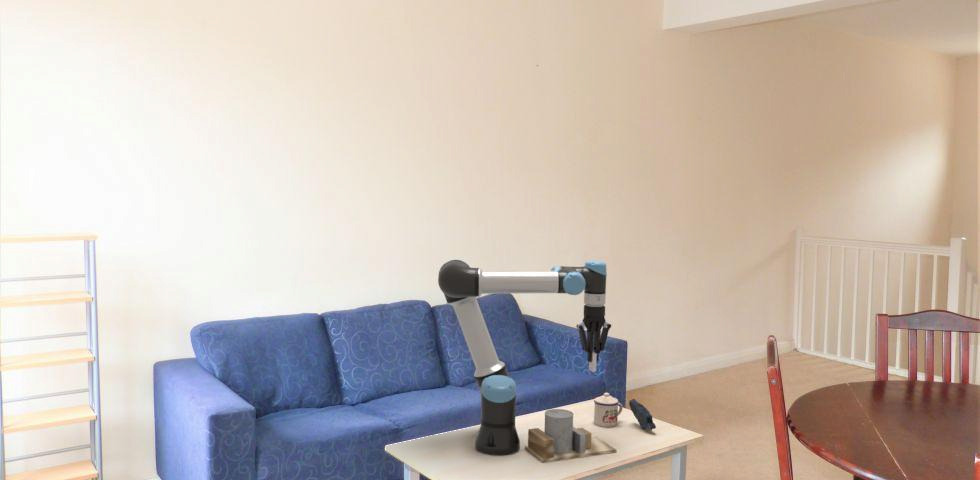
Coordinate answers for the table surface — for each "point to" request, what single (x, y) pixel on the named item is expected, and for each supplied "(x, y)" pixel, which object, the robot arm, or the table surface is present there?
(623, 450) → the table surface
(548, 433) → the gray cylinder
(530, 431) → the press
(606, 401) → the teacup with lid
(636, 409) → the stone
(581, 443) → the slide jaw
